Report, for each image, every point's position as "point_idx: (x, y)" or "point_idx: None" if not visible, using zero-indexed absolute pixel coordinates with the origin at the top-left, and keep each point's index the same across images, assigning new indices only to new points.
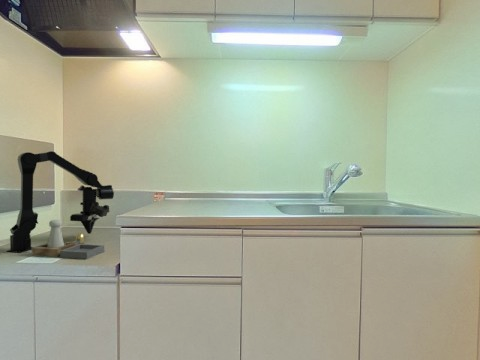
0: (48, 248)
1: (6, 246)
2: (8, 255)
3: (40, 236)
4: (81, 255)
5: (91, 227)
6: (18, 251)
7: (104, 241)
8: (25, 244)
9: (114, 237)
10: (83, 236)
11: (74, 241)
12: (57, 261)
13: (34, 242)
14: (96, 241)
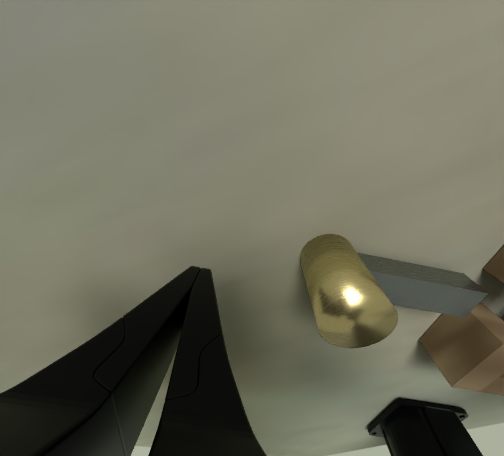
0: None
1: (329, 452)
2: (492, 419)
3: None
4: None
5: (172, 315)
6: (462, 418)
7: (233, 74)
8: (476, 446)
9: (12, 26)
10: (358, 275)
11: (406, 292)
12: None
13: (270, 422)
14: (238, 166)
